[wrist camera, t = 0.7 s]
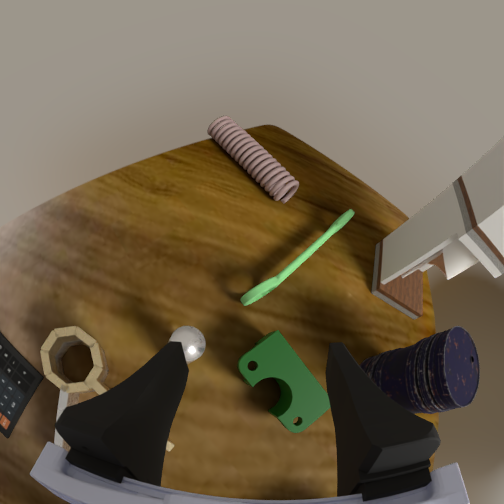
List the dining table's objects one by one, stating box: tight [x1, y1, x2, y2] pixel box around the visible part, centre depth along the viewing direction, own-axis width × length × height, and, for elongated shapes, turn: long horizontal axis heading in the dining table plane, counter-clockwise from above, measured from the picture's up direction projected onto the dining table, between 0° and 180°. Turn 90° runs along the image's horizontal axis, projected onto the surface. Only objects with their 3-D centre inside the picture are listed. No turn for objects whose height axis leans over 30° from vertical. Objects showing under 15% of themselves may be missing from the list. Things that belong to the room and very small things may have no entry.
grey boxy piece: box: [371, 137, 504, 319], centre depth 33 cm, size 11×11×35 cm
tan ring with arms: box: [40, 326, 174, 452], centre depth 20 cm, size 14×14×5 cm
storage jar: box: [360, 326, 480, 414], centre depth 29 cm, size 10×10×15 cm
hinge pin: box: [168, 326, 206, 365], centre depth 26 cm, size 3×3×7 cm
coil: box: [208, 116, 299, 203], centre depth 44 cm, size 5×5×18 cm
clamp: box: [237, 330, 330, 433], centre depth 28 cm, size 11×6×8 cm, turn 34°
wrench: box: [240, 209, 355, 306], centre depth 39 cm, size 25×2×5 cm, turn 135°
